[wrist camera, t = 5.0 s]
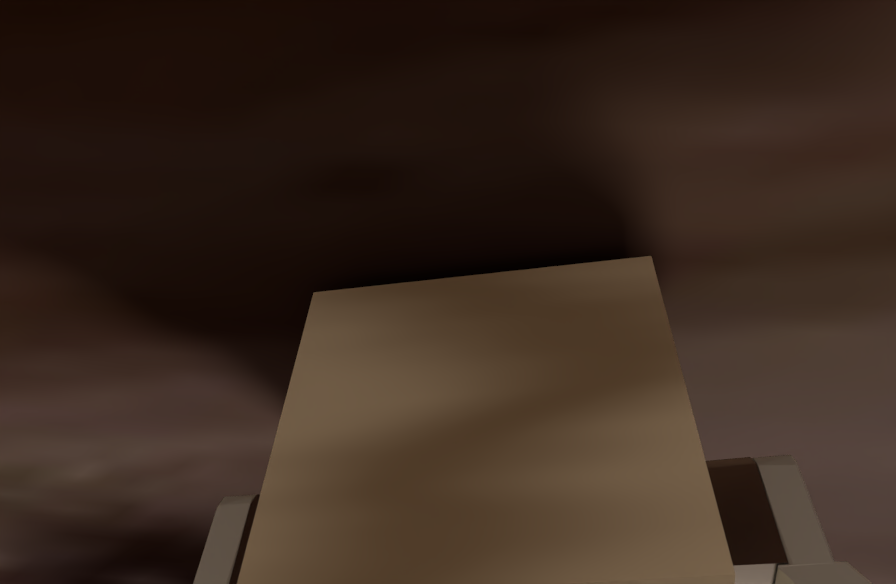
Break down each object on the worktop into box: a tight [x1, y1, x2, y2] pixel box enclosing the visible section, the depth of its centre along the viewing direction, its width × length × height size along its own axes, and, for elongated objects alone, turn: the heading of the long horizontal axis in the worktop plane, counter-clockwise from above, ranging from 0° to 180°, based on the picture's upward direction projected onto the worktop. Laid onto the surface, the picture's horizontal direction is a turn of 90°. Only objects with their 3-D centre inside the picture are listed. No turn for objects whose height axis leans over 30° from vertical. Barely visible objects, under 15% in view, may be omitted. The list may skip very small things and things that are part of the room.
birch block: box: [237, 256, 735, 584], centre depth 11 cm, size 5×5×5 cm
